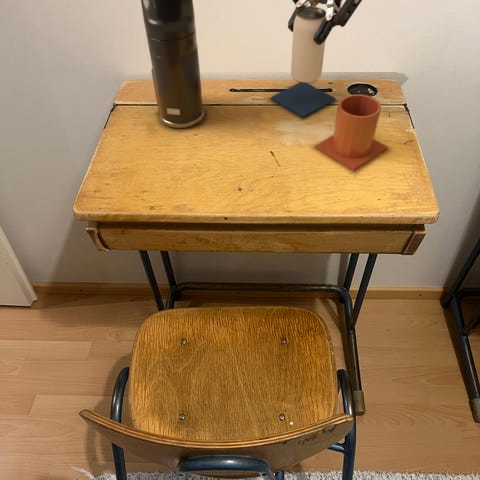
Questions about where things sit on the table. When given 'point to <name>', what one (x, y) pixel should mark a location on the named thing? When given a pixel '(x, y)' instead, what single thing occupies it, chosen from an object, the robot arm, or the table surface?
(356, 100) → the terracotta cup
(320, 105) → the blue mat
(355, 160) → the terracotta mat
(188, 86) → the robot arm
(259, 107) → the table surface
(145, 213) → the table surface
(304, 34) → the can
